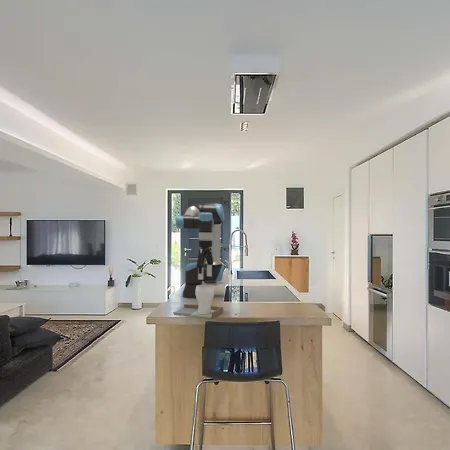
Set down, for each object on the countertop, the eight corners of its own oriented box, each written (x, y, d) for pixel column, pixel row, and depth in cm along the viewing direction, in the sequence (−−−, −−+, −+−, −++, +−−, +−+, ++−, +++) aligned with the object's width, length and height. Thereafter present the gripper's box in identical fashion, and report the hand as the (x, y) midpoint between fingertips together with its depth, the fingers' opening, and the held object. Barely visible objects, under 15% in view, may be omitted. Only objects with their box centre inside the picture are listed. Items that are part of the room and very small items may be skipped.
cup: (196, 315, 234) (196, 287, 234) (193, 311, 244) (194, 284, 244) (215, 314, 236) (215, 287, 236) (212, 310, 246) (212, 284, 246)
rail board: (184, 309, 255) (184, 304, 255) (222, 312, 247) (222, 307, 247) (173, 314, 240) (173, 309, 240) (213, 318, 232) (213, 312, 232)
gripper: (207, 238, 253) (206, 274, 254) (190, 240, 230) (190, 280, 230) (219, 239, 251) (218, 275, 252) (203, 241, 227) (203, 281, 228)
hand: (205, 277), depth 241 cm, fingers open, 13 cm apart
